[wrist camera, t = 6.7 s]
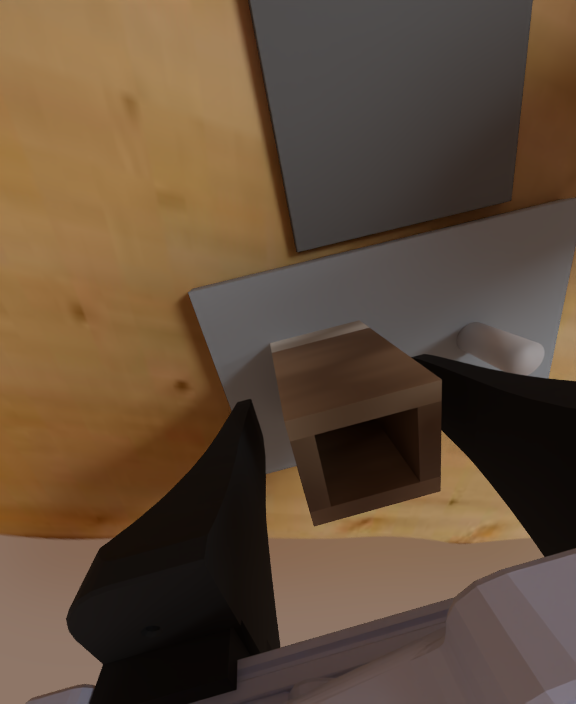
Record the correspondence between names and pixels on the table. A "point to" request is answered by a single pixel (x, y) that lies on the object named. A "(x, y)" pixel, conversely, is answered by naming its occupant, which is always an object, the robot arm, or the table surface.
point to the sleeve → (358, 420)
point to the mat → (391, 108)
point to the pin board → (401, 304)
